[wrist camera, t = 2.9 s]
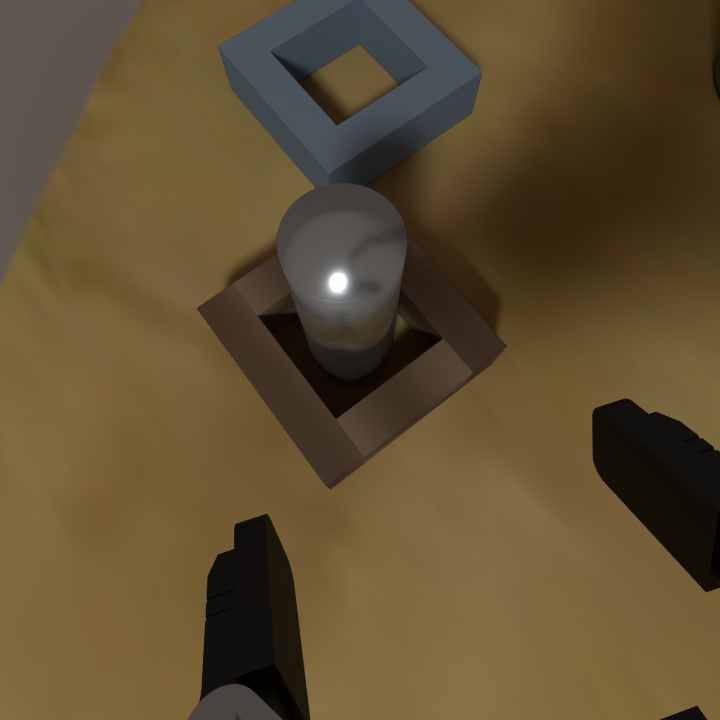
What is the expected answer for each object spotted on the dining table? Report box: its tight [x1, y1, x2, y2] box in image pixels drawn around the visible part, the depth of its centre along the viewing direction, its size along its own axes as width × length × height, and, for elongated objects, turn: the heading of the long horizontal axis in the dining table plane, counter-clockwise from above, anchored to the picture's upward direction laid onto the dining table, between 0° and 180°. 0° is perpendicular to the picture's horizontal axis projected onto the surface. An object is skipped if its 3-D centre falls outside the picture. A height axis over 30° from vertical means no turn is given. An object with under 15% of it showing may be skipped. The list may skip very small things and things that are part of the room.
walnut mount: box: [197, 234, 507, 489], centre depth 25 cm, size 10×10×3 cm
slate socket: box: [218, 0, 482, 188], centre depth 29 cm, size 10×10×3 cm
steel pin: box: [277, 183, 407, 385], centre depth 22 cm, size 4×4×11 cm
